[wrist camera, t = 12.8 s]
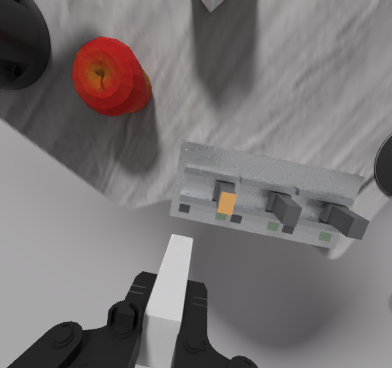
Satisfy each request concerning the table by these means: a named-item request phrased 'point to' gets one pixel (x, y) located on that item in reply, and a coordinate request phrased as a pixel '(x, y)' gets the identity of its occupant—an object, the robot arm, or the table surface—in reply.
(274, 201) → the breaker mid
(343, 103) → the table surface
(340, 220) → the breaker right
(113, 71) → the apple
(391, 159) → the microphone
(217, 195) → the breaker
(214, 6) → the ink cartridge box
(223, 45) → the table surface
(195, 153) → the breaker panel
